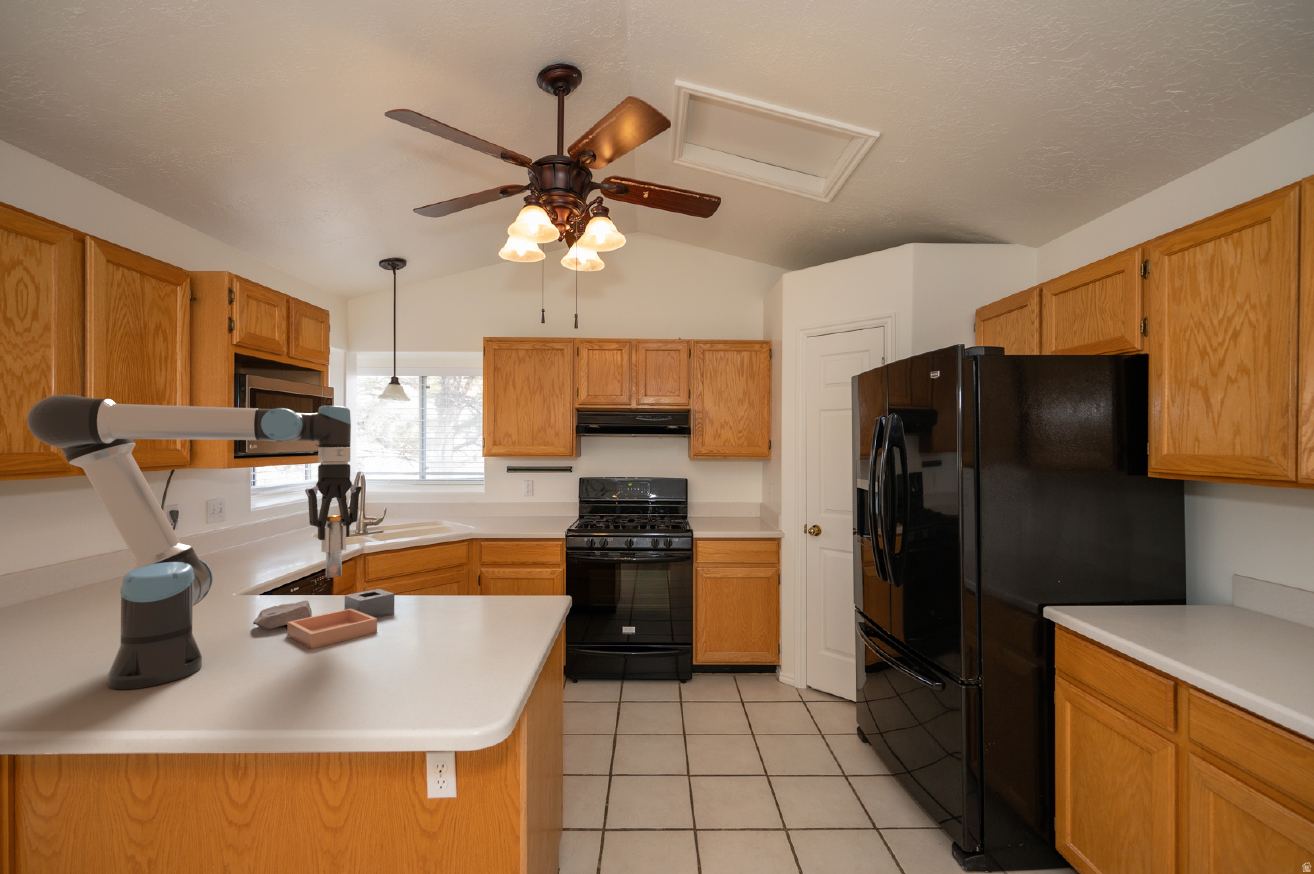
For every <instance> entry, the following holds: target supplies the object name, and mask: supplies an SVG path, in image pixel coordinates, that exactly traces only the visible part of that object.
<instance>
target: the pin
mask: <svg viewBox="0 0 1314 874" xmlns="http://www.w3.org/2000/svg"><path fill="white" fill-rule="evenodd" d="M342 525H343V524H342V515H340V514H337V515H336V514H335V515H328V517H327V522H326V526H325V527H328V528H329V552H327V553H325V578H337V577H341V576H342V563H343V562H342V560H343V557H342V555H343V554H342V551H343V550H342Z"/></svg>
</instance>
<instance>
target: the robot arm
mask: <svg viewBox="0 0 1314 874" xmlns="http://www.w3.org/2000/svg"><path fill="white" fill-rule="evenodd" d="M351 419H352V418H351V410H350V409H349V407H347V406H340V405H321V406H319V407H318V411H317V412H315V413H314V412H312V413H307V412H306V413H304V412H296V411H294V410H293V409H289V408H286V407H285V408H284V407H276V408H258V407H257V408H256V407H254V408H253V407H227V406H226V407H223V406H222V407H221V406H195V405H168V404H167V405H166V404H165V405H164V404H163V405H162V404H161V405H160V404H136V403H135V404H133V403H132V404H131V403H130V404H129V403H116V402H115V401H114V400H112V399H110V398H97V397H96V398H94V397H87V396H82V395H76V394H68V393H67V394H64V393H63V394H55V395H52V396H47V397H45V398H43V399H41V400H39V401H38V402H36V403H35V404H34V405H33V406H32V407H31V408H30V409H29V411H28V414H27V416H26V424H27V428H28V429H29V432H30V433H31V434H32V435H33V437H34V438H36V440H38V441H40V442H41V443H43V444H45V445H48V446H51V447H55V448H60V451H61V452H62V453H63V455H64V458H66V460H67V462H68V463H69V464H70V465H72V466H75V467H79V468H82V470H83V471H84V473H85V475H86V477H87V478H88V480H89V482H90V483H91V486H92V487H93V489H94V491H95V492H96V494H97V496H98V497H99V499H100V501H101V502H102V504H103V506H104V508H105V510H106V512H107V513H108V515H109V517H110V519H111V520H112V522H113V524H114V526H115V528H116V529H117V531H118V533H119V534H120V536H121V538H122V539H123V541H124V543H125V545H126V546H127V548H128V550H129V552H130V554H131V555H132V557H133V559H134V561H135V563H134V564H133V567H132V568H131V570H129V571H128V572H126V574H125V575H124V576H123V578H122V582H121V586H120V596H121V597H120V598H121V599H120V645H119V648H118V651H117V653H116V655H115V658H114V660H113V662H112V665H111V667H110V670H109V672H108V675H107V686H108V687H109V688H111V689H113V690H135V689H142V688H147V687H149V688H150V687H154V686H158V685H162V684H163V685H164V684H166V683H170V682H174V681H178V680H180V679H183V678H185V677H188V676H190V675H192V674H194V673H196V672H198V671H200V669H201V668H202V666H203V663H202V662H203V656H202V653H201V651H200V648H199V646H198V644H197V642H196V639H195V636H194V635H193V634H194V633H193V613H194V612H193V611H194V609H193V607H194V606H196V605H197V604H199V603H200V602H201V601H202V600H203V599H204V598H205V597H206V596H207V595H208V593H209V591H210V590H211V588H212V585H213V581H214V574H213V570H212V568H211V567H210V566H209V564H208V563H207V562H205V561H204V560H202V559H200V558H199V557H198V554H197V552H195V550H194V548H193V546H192V545H189V544H184V543H182V542H181V541H180V539H179V537H178V536H177V534H176V532H175V530H174V528H173V527H172V525H171V522H170V521H169V519H168V518H167V516H166V514H165V512H164V510H163V509H162V506H161V505H160V503H159V501H158V500H157V498H156V496H155V494H154V492H153V491H152V489H151V487H150V485H149V483H148V481H147V480H146V478H145V476H144V474H143V472H142V471H141V469H140V466H139V465H138V463H137V461H136V460H135V458H134V456H133V454H132V452H133V451H134V450H135V449H134V448H135V447H136V446H137V445H136V442H135V440H205V441H206V440H214V441H215V440H217V441H219V440H220V441H221V440H222V441H224V440H225V441H226V440H227V441H228V440H229V441H241V440H242V441H267V442H277V443H282V442H318V445H317V446H318V447H317V448H318V450H317V451H318V455H317V462H318V463H320V464H319V465H318V466H317V482H316V484H315V486H313V487H310V488H305V490H304V492H305V494H306V496H307V498H308V499H307V502H308V517H309V518H308V519H309V521H308V522H309V525H310V526H313V527H316V528H317V540H320V541H321V552H322V553H325V554H326V553H327V552H329V528H328V527H326V522H327V517H328V516H329V511H330V507H331V502H332V501H333V499H335V498H336V500H337V504H338V509H339V515H342V551H346V550H347V538H349V537H350V534H351V533H350V530H351V529H350V527H351V525H352V524H353V523H356V522H357V521H358V516H359V503H360V501H359V498H360V493H361V491H362V489H363V488H362V486H360V485H356V484H353V483H352V480H351V464H349V463H350V462H351V442H352V441H351V437H352V433H351V431H352V430H351V429H352V422H351V421H352V420H351ZM318 492H319V493H320V494H321V495H322V496H321V505H320V509H318V497H317V495H318ZM348 492H350V498H349V508H348V503H347V502H348V500H347V499H348V498H347V493H348ZM318 511H319V513H318Z"/></svg>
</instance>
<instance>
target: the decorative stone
mask: <svg viewBox="0 0 1314 874" xmlns="http://www.w3.org/2000/svg"><path fill="white" fill-rule="evenodd" d="M309 617H313V613H312V608H311V606H310V603H309V600H301V601H298V602H293V603H283V604H279V605H273V606H270V607H267V608H264V609H262V610H260V612H259V613H258V615H257V617H256V618H255V619H254V621H253V622H252V625H256V626H257V627H258V629H260V630H272V629H275V628H278V627H282V626H286V625H287V622H290V621H295V620H299V619H304V618H309Z"/></svg>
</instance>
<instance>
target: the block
mask: <svg viewBox="0 0 1314 874" xmlns="http://www.w3.org/2000/svg"><path fill="white" fill-rule="evenodd" d="M351 608H352V609H354V610H357V611H359V612H362V613H364V614H367V615H369V616H372V617H375V618H377V619H378V618H382V617H386V616H392V615H395V593H393V592H390V591H387V590H384V589H381V588H376V589H370V590H364V591H360V592H355V593H351V594H350V593H349V594H346V595H344V609H343V610H346V609H351Z"/></svg>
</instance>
